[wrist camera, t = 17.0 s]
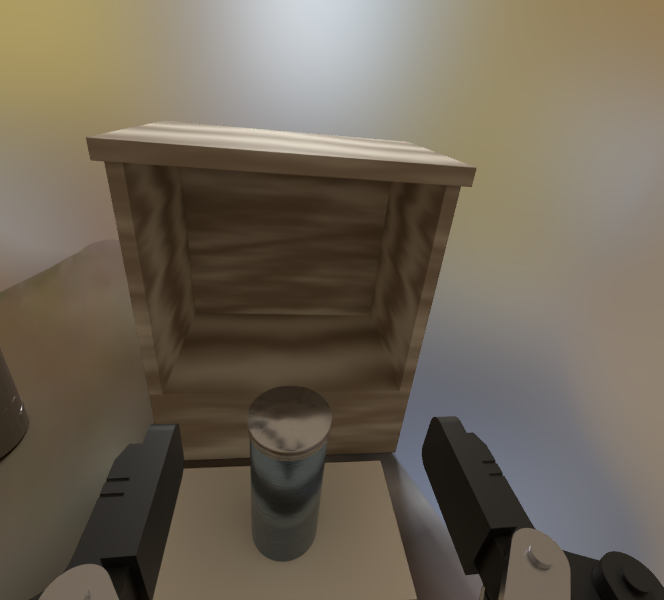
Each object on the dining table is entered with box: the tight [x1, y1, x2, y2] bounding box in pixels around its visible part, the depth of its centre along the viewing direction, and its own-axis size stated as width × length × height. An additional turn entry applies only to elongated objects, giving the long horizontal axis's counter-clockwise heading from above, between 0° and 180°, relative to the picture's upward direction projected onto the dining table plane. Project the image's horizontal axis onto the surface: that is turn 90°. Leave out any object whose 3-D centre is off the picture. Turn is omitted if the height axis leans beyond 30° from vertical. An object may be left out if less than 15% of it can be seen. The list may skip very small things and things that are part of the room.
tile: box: [153, 461, 417, 600], centre depth 29 cm, size 11×18×1 cm, turn 97°
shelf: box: [86, 121, 476, 460], centre depth 35 cm, size 15×23×27 cm, turn 97°
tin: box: [247, 386, 332, 562], centre depth 26 cm, size 5×5×12 cm
